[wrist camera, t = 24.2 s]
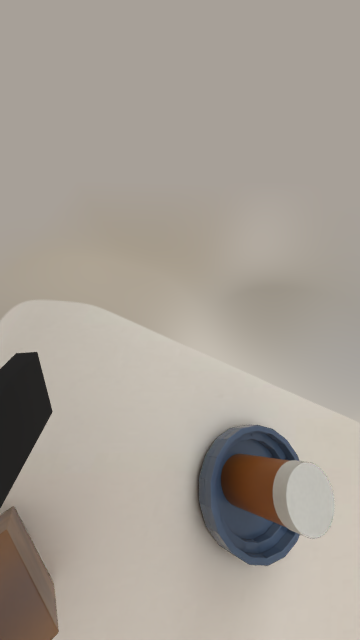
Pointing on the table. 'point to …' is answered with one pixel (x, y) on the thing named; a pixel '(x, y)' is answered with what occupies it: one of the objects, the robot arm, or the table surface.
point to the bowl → (235, 523)
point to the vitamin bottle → (281, 492)
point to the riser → (24, 585)
